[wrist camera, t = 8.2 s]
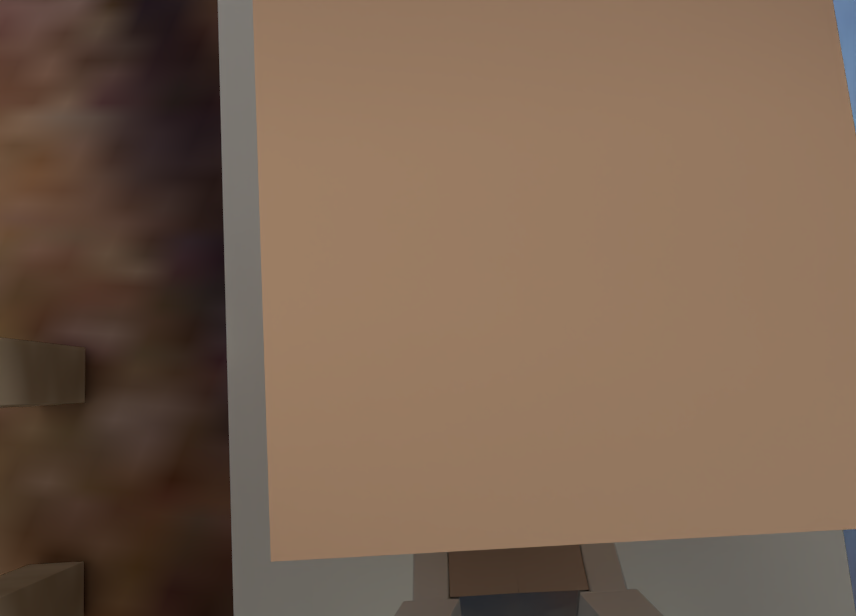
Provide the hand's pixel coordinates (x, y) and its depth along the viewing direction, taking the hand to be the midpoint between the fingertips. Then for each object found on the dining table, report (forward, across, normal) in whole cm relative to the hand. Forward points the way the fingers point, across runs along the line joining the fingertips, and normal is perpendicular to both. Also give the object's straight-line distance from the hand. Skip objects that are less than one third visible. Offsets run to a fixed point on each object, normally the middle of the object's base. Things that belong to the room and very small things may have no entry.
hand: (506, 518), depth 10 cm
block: (+6, +1, 0) cm, 6 cm away
